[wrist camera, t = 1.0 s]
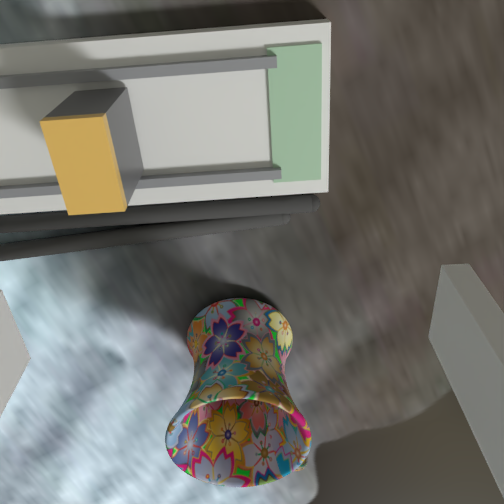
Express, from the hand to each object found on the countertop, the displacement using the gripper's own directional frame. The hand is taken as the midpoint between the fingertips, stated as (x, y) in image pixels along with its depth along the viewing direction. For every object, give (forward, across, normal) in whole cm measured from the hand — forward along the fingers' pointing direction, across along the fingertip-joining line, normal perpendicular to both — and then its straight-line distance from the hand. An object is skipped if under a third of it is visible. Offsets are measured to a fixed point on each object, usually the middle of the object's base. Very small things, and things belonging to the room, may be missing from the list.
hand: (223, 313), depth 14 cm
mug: (+19, 0, -19) cm, 26 cm away
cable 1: (+19, -7, -6) cm, 21 cm away
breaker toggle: (+17, -7, 0) cm, 18 cm away
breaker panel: (+19, -7, 0) cm, 20 cm away
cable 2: (+19, -8, -8) cm, 22 cm away
